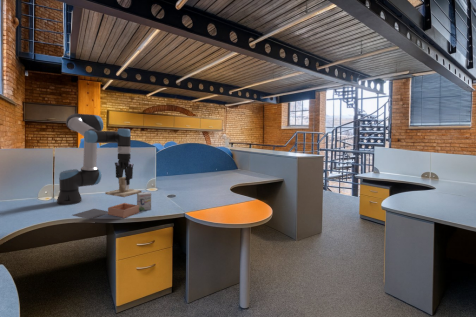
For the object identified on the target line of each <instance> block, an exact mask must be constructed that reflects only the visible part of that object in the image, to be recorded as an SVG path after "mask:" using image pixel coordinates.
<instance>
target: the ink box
mask: <svg viewBox="0 0 476 317" xmlns="http://www.w3.org/2000/svg"><path fill="white" fill-rule="evenodd" d="M136 205H139V211H150V210H152V192H150V191H142V192H141V193H138V194H136Z"/></svg>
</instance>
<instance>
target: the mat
mask: <svg viewBox="0 0 476 317" xmlns="http://www.w3.org/2000/svg"><path fill="white" fill-rule="evenodd" d="M104 215H108V210H103V209H97V208H92V209H87V210H83V211H82V212H78V213H74V214H72V216H73V217H78V218H83V219H86V220H87V219H88V220H93V219H95V218H100V217H101V216H104Z"/></svg>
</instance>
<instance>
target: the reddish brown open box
mask: <svg viewBox="0 0 476 317" xmlns="http://www.w3.org/2000/svg"><path fill="white" fill-rule="evenodd" d="M107 211H108V214H107V215H108V216H114V217H119V218H122V219H127V218H130V217H132V216H135V215H138V214H140V210H139V205H137V204H133V203H126V202H123V203H120V204H115V205H113V206H109V207H108V208H107Z"/></svg>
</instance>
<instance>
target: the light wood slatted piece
mask: <svg viewBox="0 0 476 317" xmlns="http://www.w3.org/2000/svg"><path fill="white" fill-rule="evenodd" d="M125 179H126V177H125V176H123V177H121V178H119V179H118V188H117V189H113V190H110V191H106V192H105V195H108V196H114V197H121V198H126V197H130V196H133V195H137V194H138V193H141V192H143V190H141V189H140V190H139V189H133V188H129V190H125Z"/></svg>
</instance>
